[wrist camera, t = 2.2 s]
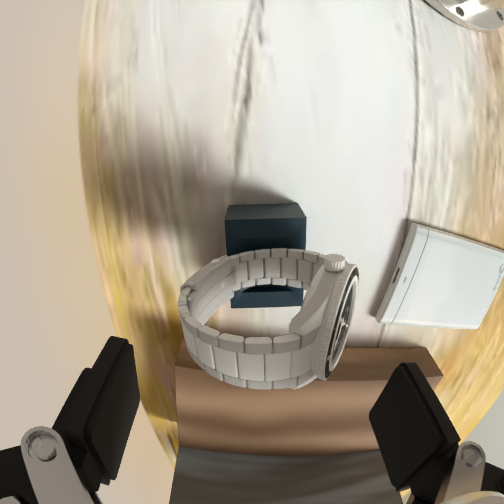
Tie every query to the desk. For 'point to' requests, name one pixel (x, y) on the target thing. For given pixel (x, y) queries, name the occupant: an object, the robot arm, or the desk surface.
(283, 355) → the watch
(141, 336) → the desk surface
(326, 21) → the desk surface
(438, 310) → the hard drive
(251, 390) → the display stand
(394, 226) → the desk surface
